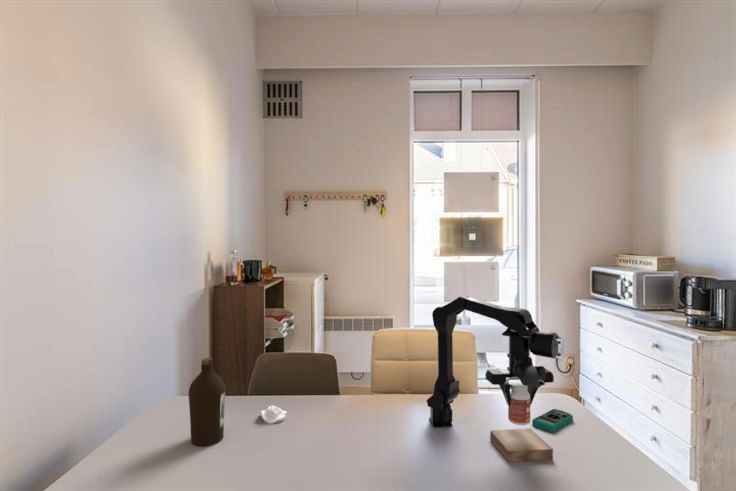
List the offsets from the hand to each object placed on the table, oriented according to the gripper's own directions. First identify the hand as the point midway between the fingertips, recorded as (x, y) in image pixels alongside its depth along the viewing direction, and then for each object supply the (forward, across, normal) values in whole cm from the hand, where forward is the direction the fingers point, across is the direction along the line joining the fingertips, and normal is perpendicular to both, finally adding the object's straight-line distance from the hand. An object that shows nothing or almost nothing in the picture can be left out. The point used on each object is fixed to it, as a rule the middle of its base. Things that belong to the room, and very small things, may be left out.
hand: (519, 404), depth 126 cm
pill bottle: (+5, 0, 0) cm, 5 cm away
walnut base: (+13, 0, 0) cm, 13 cm away
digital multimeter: (+14, +19, +16) cm, 29 cm away
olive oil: (+13, -93, +16) cm, 95 cm away
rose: (+13, -75, +30) cm, 82 cm away
